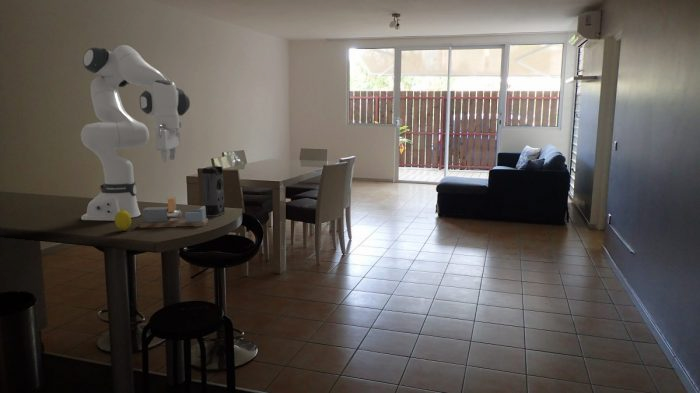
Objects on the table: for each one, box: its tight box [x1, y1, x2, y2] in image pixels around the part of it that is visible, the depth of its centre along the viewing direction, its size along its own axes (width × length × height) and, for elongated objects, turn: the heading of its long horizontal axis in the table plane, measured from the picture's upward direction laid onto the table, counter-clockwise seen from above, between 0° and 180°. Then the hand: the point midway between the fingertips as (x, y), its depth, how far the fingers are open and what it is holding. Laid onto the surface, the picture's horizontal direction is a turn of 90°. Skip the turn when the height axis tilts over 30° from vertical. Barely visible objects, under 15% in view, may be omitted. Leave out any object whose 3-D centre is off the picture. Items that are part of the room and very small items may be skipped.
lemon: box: [114, 210, 132, 232], centre depth 196 cm, size 6×6×8 cm
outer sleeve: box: [141, 206, 172, 223], centre depth 206 cm, size 9×5×5 cm, turn 93°
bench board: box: [138, 217, 209, 228], centre depth 207 cm, size 24×8×2 cm, turn 94°
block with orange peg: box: [141, 196, 182, 219], centre depth 206 cm, size 14×4×8 cm, turn 94°
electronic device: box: [201, 165, 226, 218], centre depth 224 cm, size 9×6×20 cm, turn 168°
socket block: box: [184, 205, 207, 222], centre depth 207 cm, size 6×6×5 cm
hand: (169, 160), depth 203 cm, fingers open, 8 cm apart
